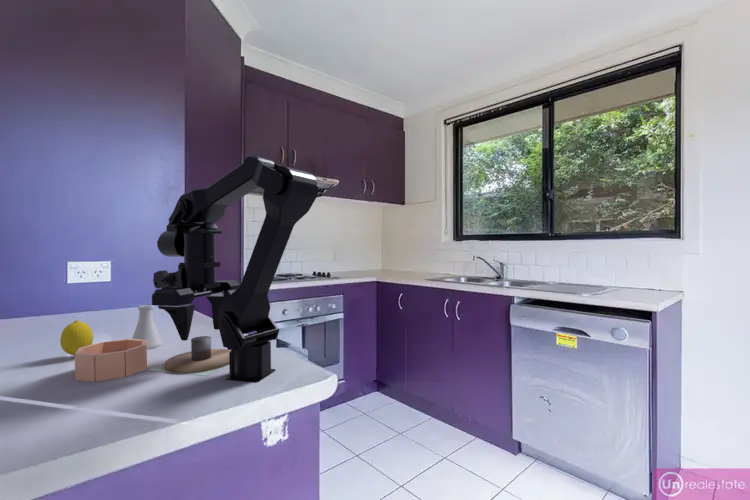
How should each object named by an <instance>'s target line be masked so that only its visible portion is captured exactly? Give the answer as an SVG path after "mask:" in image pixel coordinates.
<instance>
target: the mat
mask: <svg viewBox="0 0 750 500" xmlns="http://www.w3.org/2000/svg"><path fill="white" fill-rule="evenodd" d="M227 366H229V365H227ZM227 366H224V367H221V368H218V369H214V370H210V371H204V372H196V373H179V374H180V375H181V374H182V375H192V376H193V375H194V376H200V377H201V376H202V377H204V376H205V377H208V376H210V375H212V374H214V373H216V372H218V371H220V370H221V369H224V368H225V367H227ZM148 371H150V372H163V373H170V374H172V373H173V374H175V373H174V372H170V371H167V370H166V369H165V365H164V363H163V364H160V365H158V366H155V367H153V368H150V369H148Z"/></svg>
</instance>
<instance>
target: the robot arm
mask: <svg viewBox="0 0 750 500" xmlns="http://www.w3.org/2000/svg"><path fill="white" fill-rule="evenodd" d="M257 188H260V189H261V188H262V189H263V194H262V201H263V205H264V210H265V217H264V220H263V222H262V224H261V228H260V231H259V233H258V236H257V239H256V242H255V244H254V247H253V250H252V253H251V256H250V257H249V258H250V259H249V260H248V264H247V266H246V269H245V272H244V274H243V278H242V280H241V283H240V282H239V281H238V280H226V279H225V280H221V279H220V280H217V268H218V267H219V268H220V267H221V261H217V259H216V254H217V252H216V235H221V234H222V233H223V230H222V229H221V228H220V227H219V226H217V225H216V223H218V221H219V220H221V219H222V217H224V215H225V213H226V209H227V208H228V206H231V205H232V204H233V203H235V202H237V201H238V200H240V199H241V198H242V199H243V197H245V196H247V195H248V194H249V193H252V192H253V191H255V190H256V189H257ZM319 189H320V185H318V182H317V179H316V177H315V176H314V174H313V173H311V172H308V171H304V170H300V169H297V168H292V167H288V166H285V165H279V164H277V163H276V162H274V161H273V160H271V159H268V158H264V157H260V156H256V155H252V156H248V157H246V158H245V159H244V160H243V163H241V164H240V165H238V166H237V167H235V168H233V169H232V170H231V171H229V172H228V173H227V174H225V175H224V176H222V177H221V178H220V179H218V180H217V181H215V182H214V183H212V184H211V185H209V186H208V187H205V188H200V189H199V188H198V189H197V188H196V189H193V190H190V191H188V192H186V193H183V194H182V195H181V196H180V197H179V198H178V200H177V202H176V204H175V207H174V209H173V211H172V213H171V215H170V217H169V218H168V224H167V225H166V230H165V231H163V232H162V233H160V235H159V237H158V239H157V240H156V241H157V242H156V245H157V248H158V251H159V252H160V254H162V255H163V256H166V257H170V258H178V257H179V258H184V260H183V261H184V262H179V263H178V265H177V270H176V271H174V272H173V271H172V272H168V271H167V270H158V271H155V272H154V273H153V277H152V278H153V285H154V288H155V290H154V291H153V293H152V294H151V305H153V306H157V309H159V310H163V311H165V312H166V313H168V315H169V316H170V318H171V319H172V321H173V323H174V324H173V325H174V326H175V328H176V331H177V333H178V336H179V338H180V340H181V341H184V342H185V341H188V339H189V335H190V333H191V328H192V327H191V326H192V322H193V318H194V311H195V308H196V304H192V303H193V301H194V300H195V299H196V298H199V297H200V298H201V297H205V298H206V299H207V300H208V301H209V303H210V304H211V305H210V306H211V316H212V325H213V329H214V330H218V331H219V333H220V334H219V335H220V338H221V343H222V347H223V348H226V350H231V351H230V352H229V365H228V366H229V367H228V369H229V370H228V371H229V374H230V375H228V376H226V377H225V380H226V381H235V382H245V383H256V384H257V383H259V382H261V381H262V380H264V379H266V378H267V377H269V376H270V375H272V374H273V373H274V372H276V368H272V348H271V347H272V341H274V340H278V337H279V333H280V329H279V327H278V325H277V324H276V322H275V321H274V320H273V319H272V317H271V315H270V312H271V303H270V300H269V299H270V298H269V295H268V294H269V290H270V288H271V286H272V283H273V280H274V278H275V275H276V273H277V271H278V268H279V265H280V263H281V260H282V258H283V255H284V252H285V250H286V247H287V244H288V242H289V240H290V237H291V234H292V232H293V229H294V227H295V225H296V224H297V223H298V222H299V221H300V220H301V219H303V217H304V216H305V215H306V214H307V213H308V212H309V211H311V210H310V209H311V208H312V206H313V204H314V203H315V200H316V199H317V197H318V195H319ZM253 332H255V333H253ZM250 333H251V334H250Z"/></svg>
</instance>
